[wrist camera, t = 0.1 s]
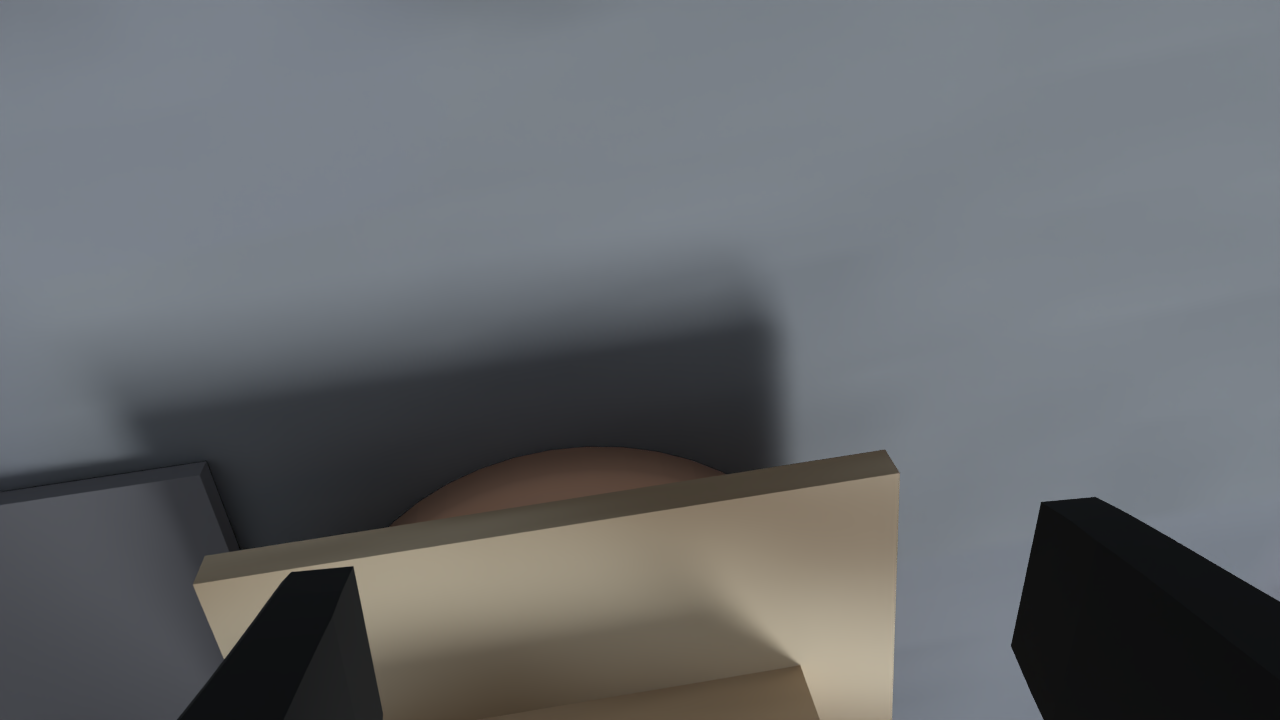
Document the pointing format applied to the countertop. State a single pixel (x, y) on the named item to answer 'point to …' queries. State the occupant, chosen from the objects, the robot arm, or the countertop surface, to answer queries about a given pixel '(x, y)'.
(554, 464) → the terracotta dish
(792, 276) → the countertop surface
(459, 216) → the countertop surface
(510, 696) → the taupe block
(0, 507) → the charcoal mat
